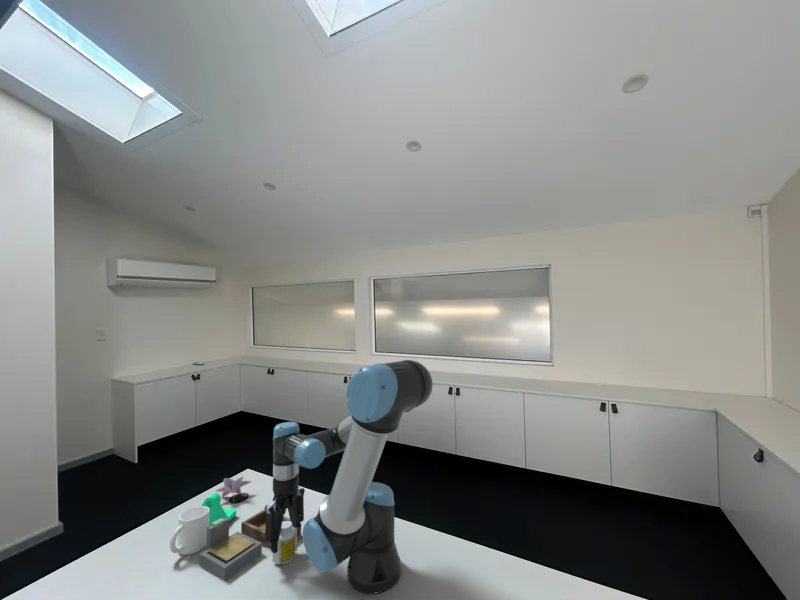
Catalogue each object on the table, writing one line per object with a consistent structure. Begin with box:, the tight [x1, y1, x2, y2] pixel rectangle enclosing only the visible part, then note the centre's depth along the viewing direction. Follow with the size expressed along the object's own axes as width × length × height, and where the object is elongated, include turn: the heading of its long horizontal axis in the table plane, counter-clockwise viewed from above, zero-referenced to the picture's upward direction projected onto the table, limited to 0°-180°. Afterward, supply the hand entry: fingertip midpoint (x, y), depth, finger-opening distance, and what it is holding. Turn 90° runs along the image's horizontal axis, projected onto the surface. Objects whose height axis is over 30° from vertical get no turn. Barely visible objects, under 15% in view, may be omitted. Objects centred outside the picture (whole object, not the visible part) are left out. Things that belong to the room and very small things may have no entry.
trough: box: [240, 508, 302, 550], centre depth 110 cm, size 18×10×4 cm, turn 61°
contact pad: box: [209, 534, 254, 564], centre depth 99 cm, size 9×9×2 cm
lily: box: [214, 476, 252, 503], centre depth 133 cm, size 12×12×10 cm
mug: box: [169, 505, 209, 556], centre depth 103 cm, size 12×8×10 cm
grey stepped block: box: [199, 517, 263, 581], centre depth 99 cm, size 14×12×9 cm
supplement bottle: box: [279, 521, 295, 565], centre depth 99 cm, size 5×5×10 cm
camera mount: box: [201, 492, 237, 526], centre depth 119 cm, size 12×8×10 cm, turn 87°
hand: (285, 555), depth 99 cm, fingers closed on supplement bottle, 5 cm apart
